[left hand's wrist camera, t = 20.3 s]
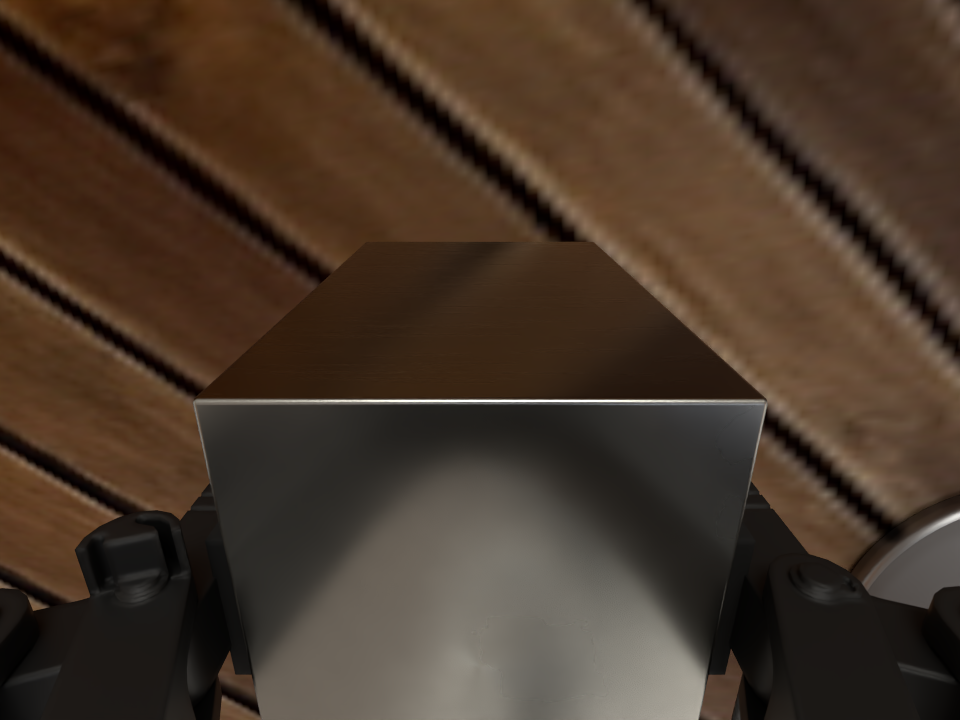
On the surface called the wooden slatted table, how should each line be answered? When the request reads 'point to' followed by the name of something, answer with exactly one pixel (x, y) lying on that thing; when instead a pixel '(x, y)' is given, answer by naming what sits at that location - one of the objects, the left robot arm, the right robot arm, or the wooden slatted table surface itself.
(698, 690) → the block
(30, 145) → the wooden slatted table surface
